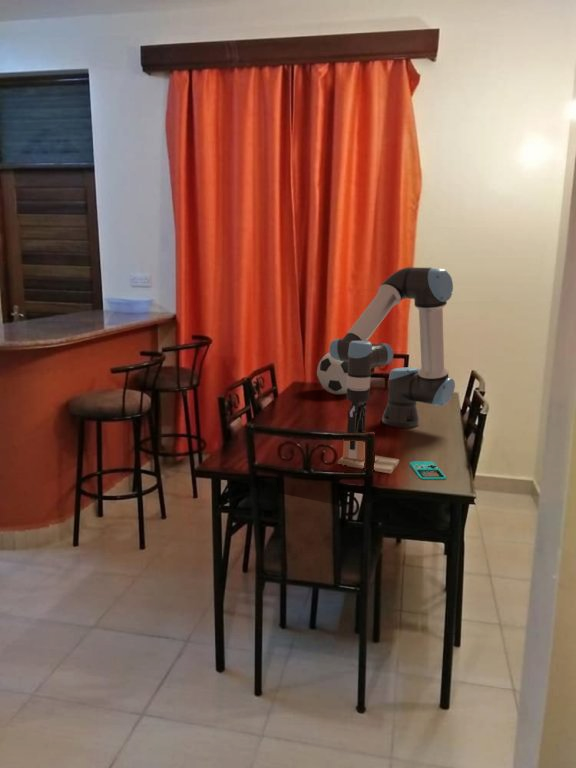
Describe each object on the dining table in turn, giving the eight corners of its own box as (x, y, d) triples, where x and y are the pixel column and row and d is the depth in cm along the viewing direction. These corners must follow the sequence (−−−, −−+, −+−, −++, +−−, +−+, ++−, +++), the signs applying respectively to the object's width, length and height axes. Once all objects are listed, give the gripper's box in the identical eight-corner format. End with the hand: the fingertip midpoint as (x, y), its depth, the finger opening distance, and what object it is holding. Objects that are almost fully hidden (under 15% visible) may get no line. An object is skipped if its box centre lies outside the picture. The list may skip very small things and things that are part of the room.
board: (348, 454, 201) (348, 450, 201) (399, 462, 194) (399, 459, 194) (337, 464, 191) (337, 460, 191) (390, 473, 184) (390, 470, 184)
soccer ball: (307, 392, 289) (308, 349, 284) (339, 386, 302) (341, 345, 297) (336, 401, 272) (338, 355, 267) (369, 395, 285) (372, 351, 280)
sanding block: (347, 453, 198) (348, 431, 196) (367, 456, 195) (368, 434, 193) (342, 458, 193) (343, 435, 192) (362, 461, 191) (364, 438, 189)
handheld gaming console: (432, 460, 195) (447, 477, 180) (432, 463, 195) (447, 480, 180) (408, 460, 194) (421, 477, 179) (408, 463, 194) (420, 481, 180)
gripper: (355, 381, 198) (353, 445, 204) (338, 392, 182) (335, 462, 187) (377, 384, 195) (373, 449, 201) (361, 395, 179) (357, 465, 184)
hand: (355, 455), depth 194 cm, fingers closed on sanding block, 5 cm apart
